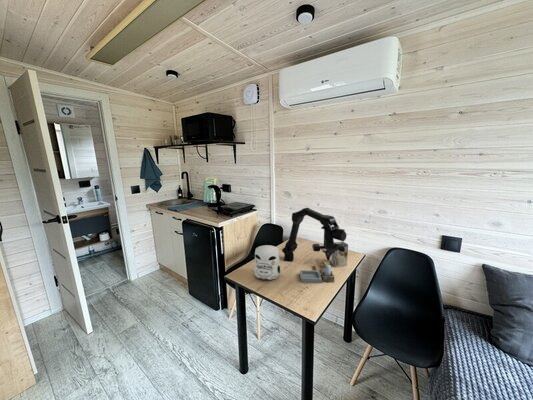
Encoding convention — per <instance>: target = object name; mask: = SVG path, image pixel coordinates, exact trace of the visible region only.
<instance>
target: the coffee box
mask: <svg viewBox="0 0 533 400" xmlns="http://www.w3.org/2000/svg"><path fill="white" fill-rule="evenodd" d="M334 244H342V245H343V246H344V247H345V251H344V252H340V251H339V250H337V251H335V253H332V255H331V257H330V259H331V260H330V261H331V264H332V266H334V267H336V268H338V267H340V268H341V267H345V266H347V265H348V253H349V244H348V243H346V242H345V241H336V242H335V241H334Z"/></svg>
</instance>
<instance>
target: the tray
mask: <svg viewBox="0 0 533 400" xmlns="http://www.w3.org/2000/svg"><path fill="white" fill-rule="evenodd" d="M299 275H300V280H301V283H307V284H308V283H309V284H310V283H311V284H312V283H313V284H322V283H323V281H322V278H321V273H320V272H319V271H316V270H314V269H313V270H309V269H308V270H307V269H300V270H299Z"/></svg>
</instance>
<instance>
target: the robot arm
mask: <svg viewBox="0 0 533 400" xmlns="http://www.w3.org/2000/svg"><path fill="white" fill-rule="evenodd" d="M306 216H308V217H310V218H312V219H314V220H316V221H318V222H319V223H320V224H321V225H322V227H320V229H322V230H323V245H320V244H319V243H313V244H312V251H313V252H320V251H322V253H324V255H325V258H326V262H330V259H331V258H332V253H335V251H337V250H339V251H340V252H344V251H345V247H344V246H343V245H342V244H334V243H335V240H337V241H339V242H345V241H346V240H347V235H348V234H347V233H346V230H345V229H343V228H340V225H339V224H338V222H337V220H336V218H335V217H334V216H333V215H329V214H322V213H320V212H318V211H316V210H314V209H311V208H310V207H304V208H301V209H300V210H298V211H295V212H293V213H292V214H291V221H292V226H291V229H290V233H289V238H288V240H287V241H286V243H285V245H284V247H283V248H282V249H281V252H282V253H283V254H284V256H283V259H284V260H283V261H284V262H294V257H295V256H294V255H295V253H294V252H295V251H296V250H297V249H298V245H299V244H298V243H297V237H298V234H299V233H298V232H299V230H300V224H301V223H302V222H303V220H304V218H305V217H306Z"/></svg>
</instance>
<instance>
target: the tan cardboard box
mask: <svg viewBox="0 0 533 400" xmlns="http://www.w3.org/2000/svg"><path fill="white" fill-rule="evenodd" d="M313 267H314V269H315V270H316V271H319V272H320V274H321V271H325V268H324V263H314V264H313Z"/></svg>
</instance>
